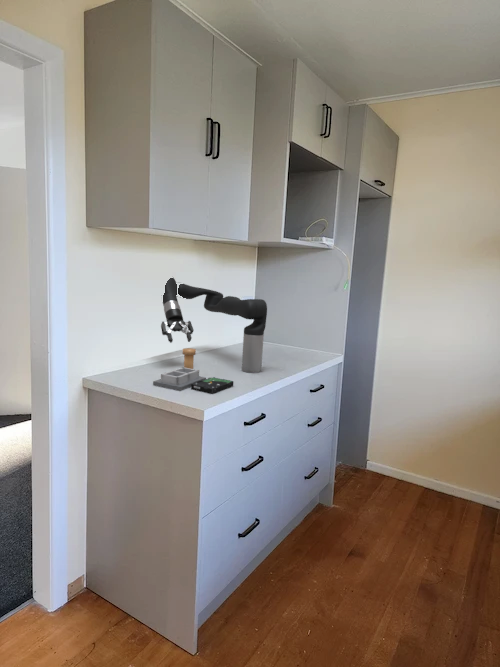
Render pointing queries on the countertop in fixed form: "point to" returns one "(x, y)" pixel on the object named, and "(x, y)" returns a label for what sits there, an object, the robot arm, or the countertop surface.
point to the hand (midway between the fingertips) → (180, 341)
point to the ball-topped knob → (189, 357)
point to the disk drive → (212, 385)
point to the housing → (179, 379)
